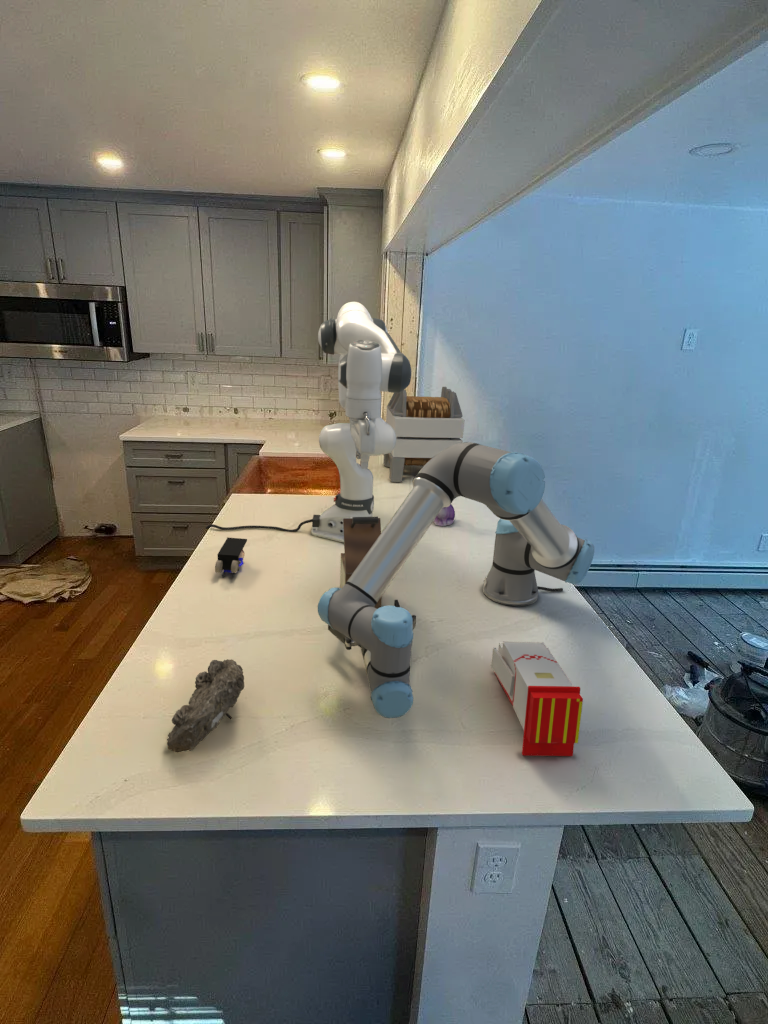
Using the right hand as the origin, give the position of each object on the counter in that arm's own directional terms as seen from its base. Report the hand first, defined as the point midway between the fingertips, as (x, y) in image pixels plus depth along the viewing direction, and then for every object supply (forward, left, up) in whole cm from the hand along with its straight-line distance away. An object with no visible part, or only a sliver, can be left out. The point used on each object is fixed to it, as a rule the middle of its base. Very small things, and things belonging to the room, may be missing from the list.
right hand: (367, 605), depth 137 cm
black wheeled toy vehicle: (+35, -37, -7) cm, 52 cm away
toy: (-28, +31, -7) cm, 43 cm away
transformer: (-45, -139, -7) cm, 146 cm away
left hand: (0, -21, +30) cm, 36 cm away
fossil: (+34, +27, -7) cm, 44 cm away
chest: (0, -16, -7) cm, 18 cm away
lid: (0, -14, +10) cm, 17 cm away
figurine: (-39, -72, -7) cm, 82 cm away
